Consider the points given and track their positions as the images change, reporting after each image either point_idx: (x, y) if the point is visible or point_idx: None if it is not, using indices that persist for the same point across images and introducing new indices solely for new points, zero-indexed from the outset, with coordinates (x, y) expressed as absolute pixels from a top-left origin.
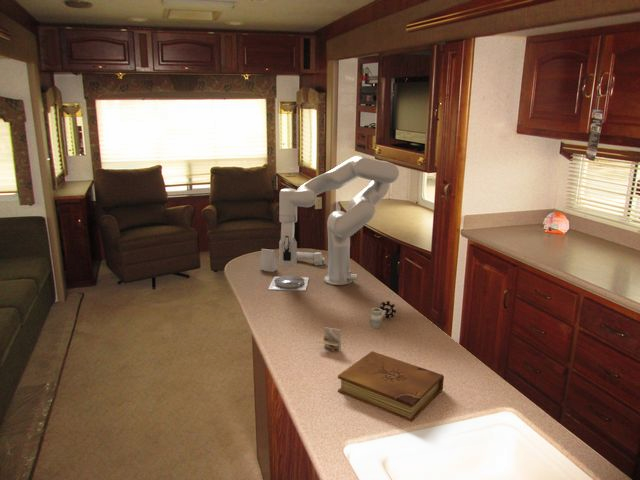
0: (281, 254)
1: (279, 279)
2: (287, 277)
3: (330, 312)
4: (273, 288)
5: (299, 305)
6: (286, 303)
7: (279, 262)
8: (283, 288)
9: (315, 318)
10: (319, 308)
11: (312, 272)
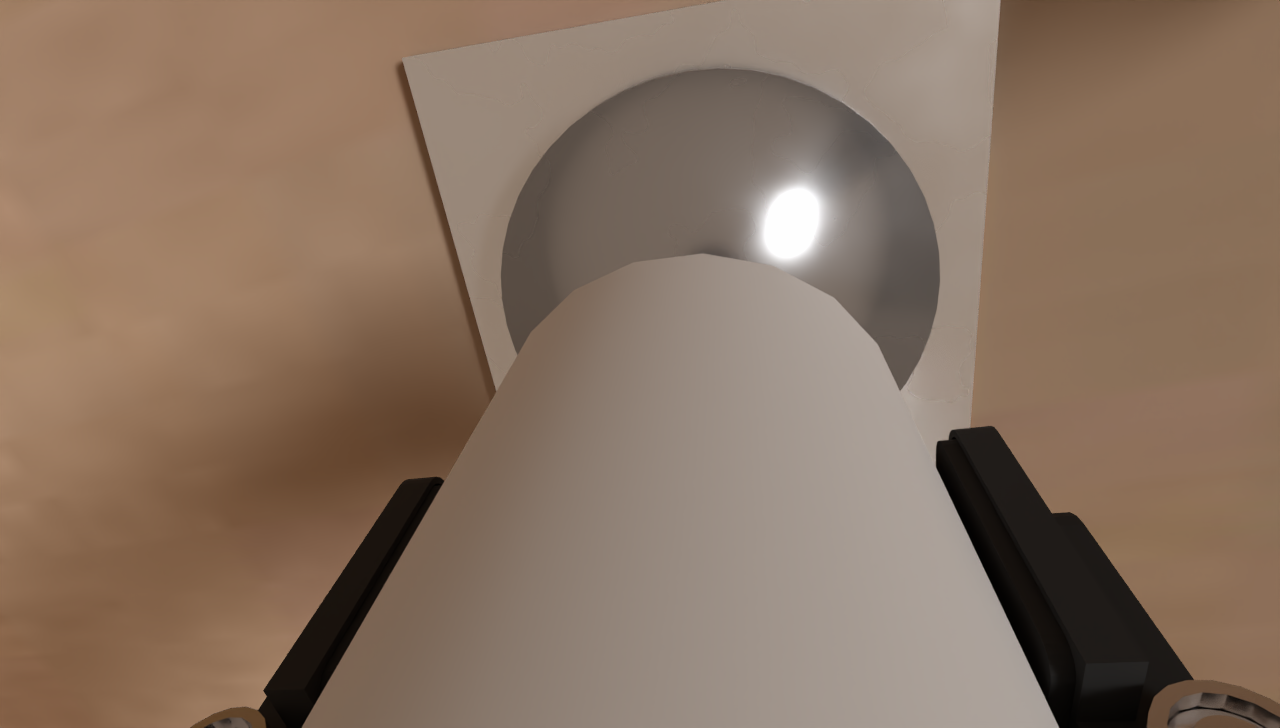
0: (431, 504)
1: (724, 148)
2: (839, 248)
3: (185, 699)
4: (445, 133)
5: (173, 502)
6: (145, 390)
7: (607, 279)
8: (494, 267)
9: (35, 630)
10: (207, 637)
11: (1222, 476)
